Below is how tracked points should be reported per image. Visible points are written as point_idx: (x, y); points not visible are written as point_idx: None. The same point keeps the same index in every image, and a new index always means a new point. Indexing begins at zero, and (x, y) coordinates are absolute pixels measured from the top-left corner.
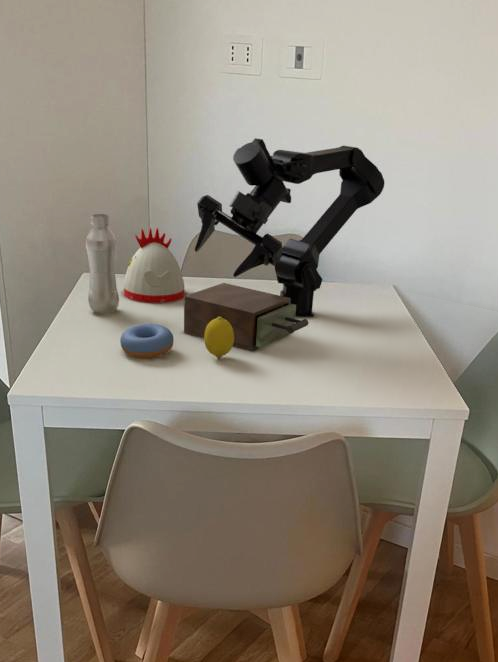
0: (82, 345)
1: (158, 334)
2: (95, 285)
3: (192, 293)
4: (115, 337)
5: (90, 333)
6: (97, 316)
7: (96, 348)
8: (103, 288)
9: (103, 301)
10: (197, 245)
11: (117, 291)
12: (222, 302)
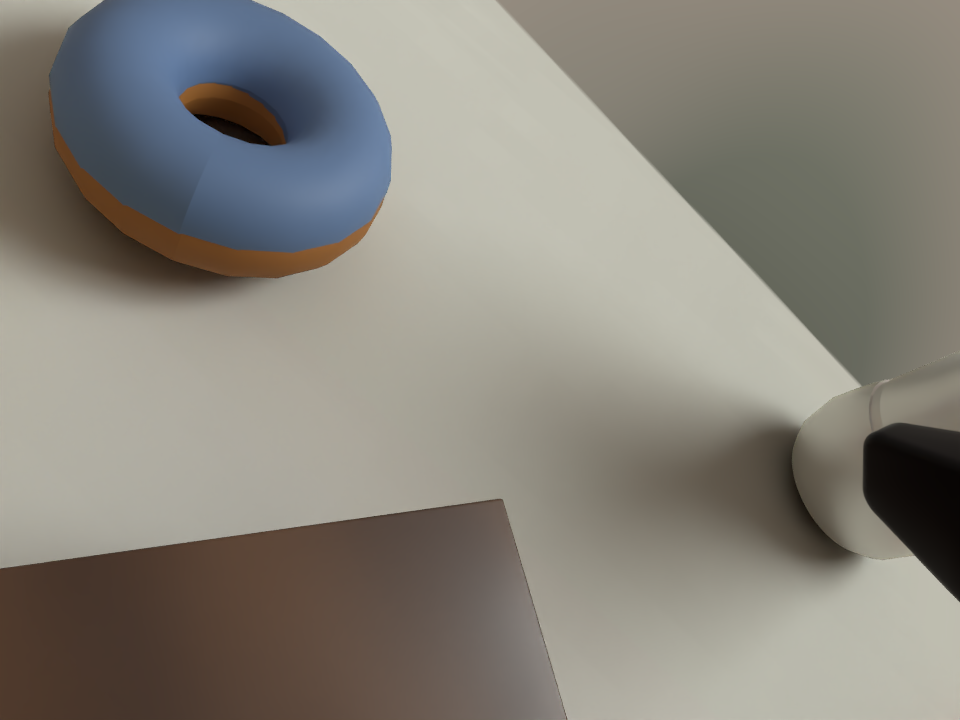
0: (476, 103)
1: (145, 66)
2: (924, 365)
3: (532, 620)
4: (496, 257)
5: (591, 232)
6: (777, 422)
7: (413, 102)
8: (899, 391)
9: (833, 412)
10: (941, 444)
11: None
12: (83, 660)
